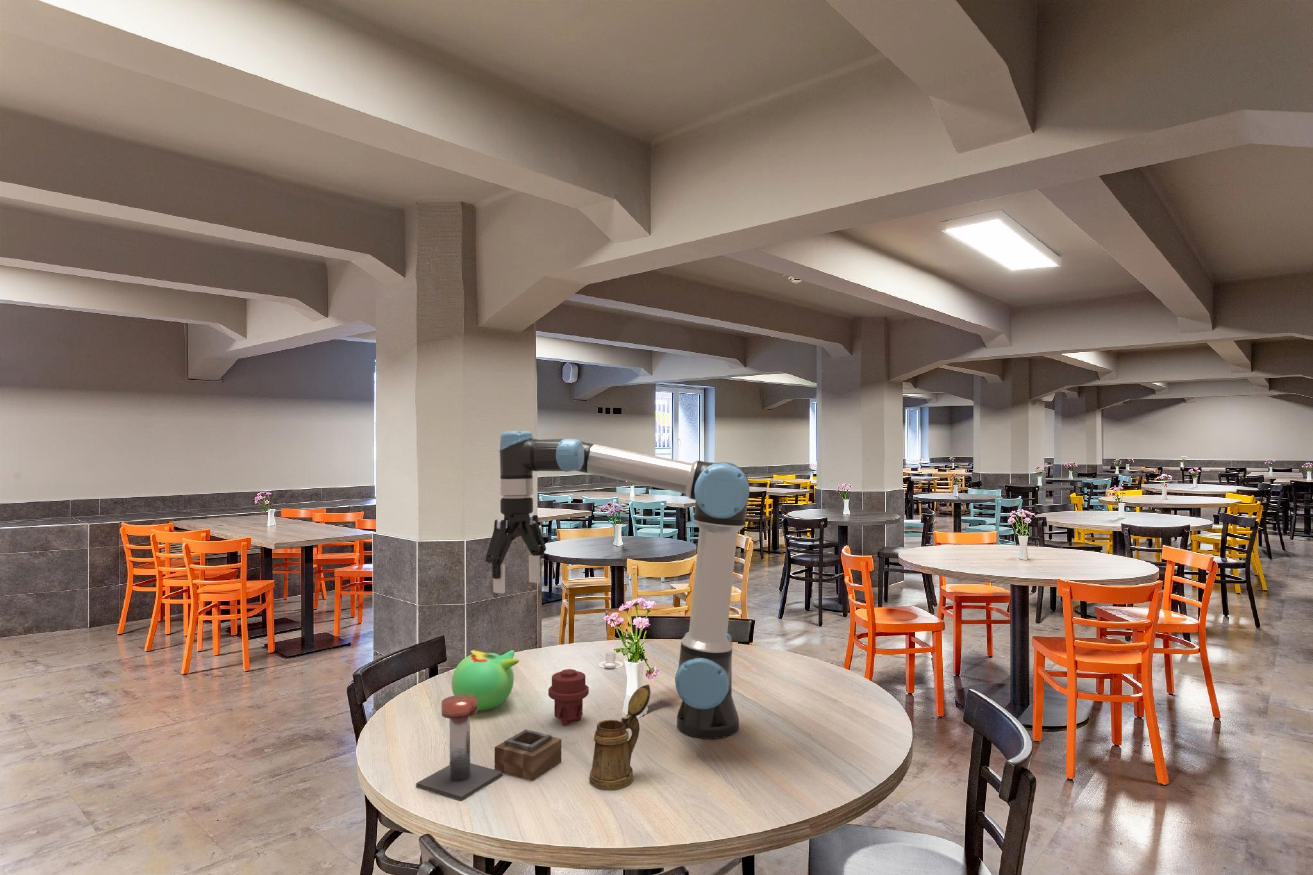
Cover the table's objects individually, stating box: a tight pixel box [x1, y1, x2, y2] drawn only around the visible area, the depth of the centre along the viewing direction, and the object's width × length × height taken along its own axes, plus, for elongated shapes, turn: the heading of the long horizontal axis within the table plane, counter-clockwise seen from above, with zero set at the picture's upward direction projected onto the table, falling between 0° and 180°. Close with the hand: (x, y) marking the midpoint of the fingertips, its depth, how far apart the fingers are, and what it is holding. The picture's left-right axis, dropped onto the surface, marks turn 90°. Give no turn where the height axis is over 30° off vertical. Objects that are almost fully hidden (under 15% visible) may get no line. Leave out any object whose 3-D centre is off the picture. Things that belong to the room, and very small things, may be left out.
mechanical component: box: [547, 668, 590, 727], centre depth 179 cm, size 12×10×10 cm
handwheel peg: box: [441, 695, 478, 781], centre depth 147 cm, size 7×7×16 cm
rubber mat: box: [415, 762, 504, 802], centre depth 146 cm, size 12×12×1 cm
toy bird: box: [451, 649, 520, 711], centre depth 189 cm, size 18×17×15 cm
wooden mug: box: [588, 684, 651, 791], centre depth 149 cm, size 9×14×18 cm, turn 120°
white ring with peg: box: [597, 651, 625, 669], centre depth 225 cm, size 9×8×4 cm
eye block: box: [493, 729, 562, 782], centre depth 153 cm, size 10×10×6 cm
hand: (517, 587), depth 169 cm, fingers open, 13 cm apart
